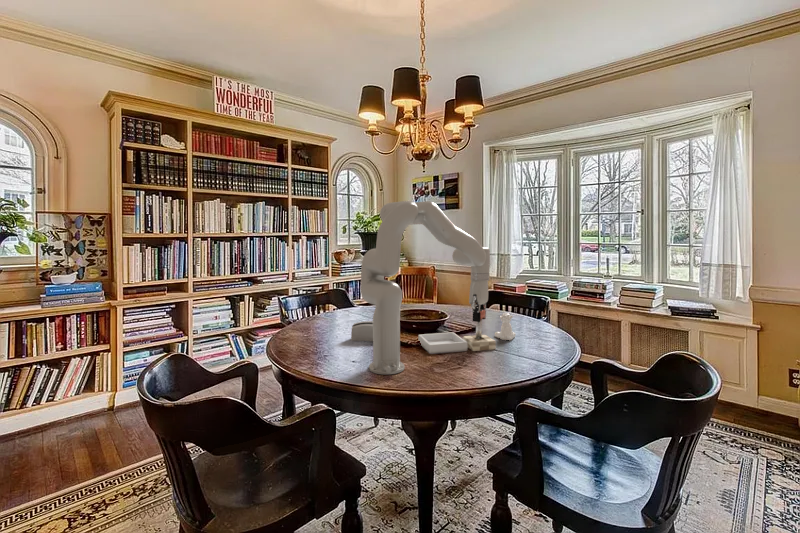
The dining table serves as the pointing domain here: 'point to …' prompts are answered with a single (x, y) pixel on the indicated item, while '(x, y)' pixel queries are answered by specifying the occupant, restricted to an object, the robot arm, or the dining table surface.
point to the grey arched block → (362, 331)
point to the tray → (442, 342)
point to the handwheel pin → (480, 325)
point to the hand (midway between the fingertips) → (479, 319)
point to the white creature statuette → (505, 328)
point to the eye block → (480, 343)
